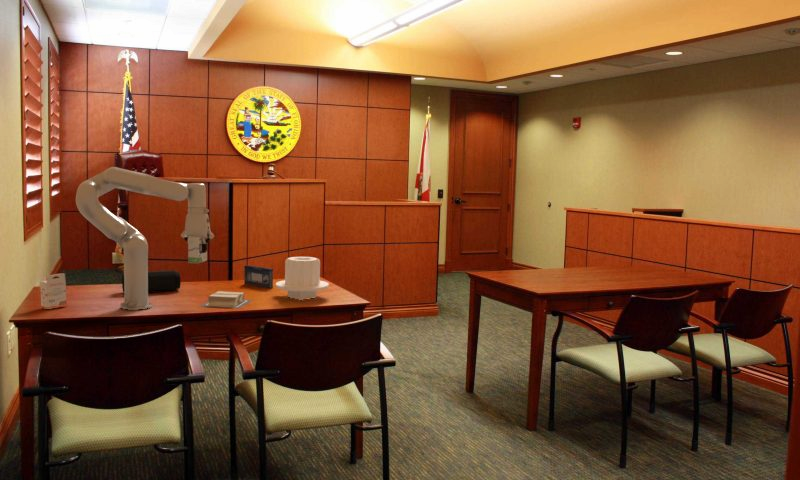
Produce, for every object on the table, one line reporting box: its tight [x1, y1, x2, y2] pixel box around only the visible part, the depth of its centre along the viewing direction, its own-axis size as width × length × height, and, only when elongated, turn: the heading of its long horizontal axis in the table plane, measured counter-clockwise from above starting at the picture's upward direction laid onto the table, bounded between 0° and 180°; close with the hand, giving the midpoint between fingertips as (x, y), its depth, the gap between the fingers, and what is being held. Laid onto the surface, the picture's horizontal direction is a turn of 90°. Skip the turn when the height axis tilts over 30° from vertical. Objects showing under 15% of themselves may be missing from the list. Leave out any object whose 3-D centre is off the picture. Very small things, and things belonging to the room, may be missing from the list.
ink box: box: [187, 236, 208, 264], centre depth 298 cm, size 9×5×12 cm, turn 169°
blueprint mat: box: [200, 299, 253, 309], centre depth 301 cm, size 18×18×1 cm
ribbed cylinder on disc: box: [275, 256, 330, 301], centre depth 322 cm, size 25×25×19 cm
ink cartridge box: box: [40, 272, 67, 307], centre depth 285 cm, size 9×5×15 cm, turn 148°
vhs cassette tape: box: [243, 264, 274, 290], centre depth 348 cm, size 18×3×10 cm, turn 55°
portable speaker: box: [121, 269, 181, 293], centre depth 325 cm, size 26×10×10 cm, turn 119°
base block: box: [208, 290, 245, 307], centre depth 301 cm, size 12×12×4 cm
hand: (197, 251), depth 298 cm, fingers closed on ink box, 5 cm apart
